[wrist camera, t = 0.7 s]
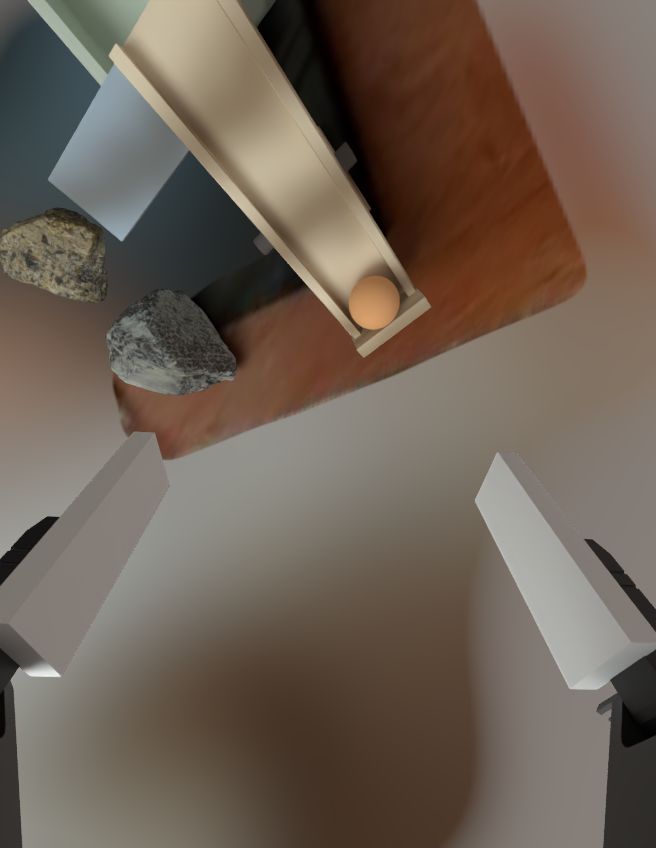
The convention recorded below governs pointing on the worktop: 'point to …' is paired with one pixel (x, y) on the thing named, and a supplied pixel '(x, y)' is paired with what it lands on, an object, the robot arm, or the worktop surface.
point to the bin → (106, 26)
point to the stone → (168, 346)
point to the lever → (229, 152)
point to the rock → (57, 254)
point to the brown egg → (374, 302)
